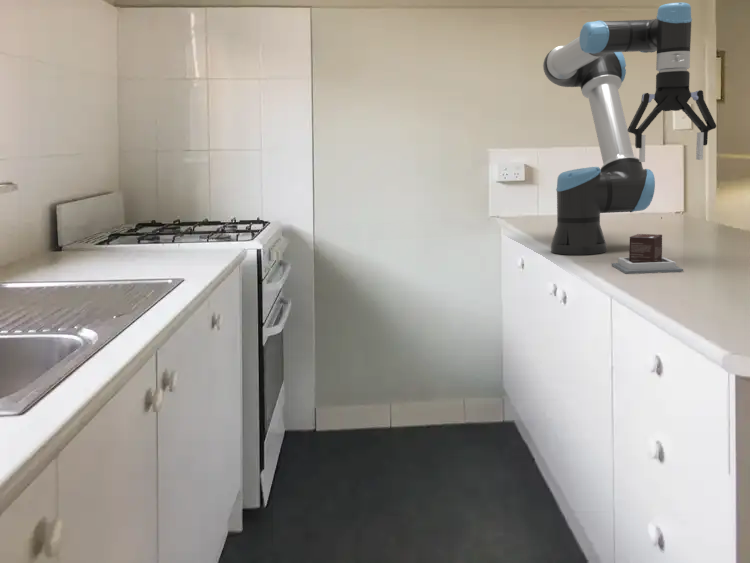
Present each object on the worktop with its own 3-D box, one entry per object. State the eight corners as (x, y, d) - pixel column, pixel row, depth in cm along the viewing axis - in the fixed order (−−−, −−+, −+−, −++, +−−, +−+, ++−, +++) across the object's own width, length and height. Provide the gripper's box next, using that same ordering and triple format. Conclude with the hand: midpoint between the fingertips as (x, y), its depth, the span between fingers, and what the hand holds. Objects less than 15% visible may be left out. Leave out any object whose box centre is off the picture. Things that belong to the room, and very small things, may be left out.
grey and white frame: (611, 265, 189) (611, 257, 189) (665, 263, 188) (665, 255, 188) (625, 273, 176) (625, 264, 176) (683, 271, 176) (683, 262, 175)
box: (637, 263, 187) (637, 233, 185) (662, 265, 183) (662, 234, 182) (628, 267, 182) (628, 236, 181) (654, 268, 178) (654, 237, 177)
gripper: (622, 72, 181) (621, 163, 185) (732, 67, 178) (729, 158, 182) (616, 75, 188) (615, 162, 192) (721, 69, 186) (718, 158, 190)
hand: (670, 160), depth 187 cm, fingers open, 13 cm apart
